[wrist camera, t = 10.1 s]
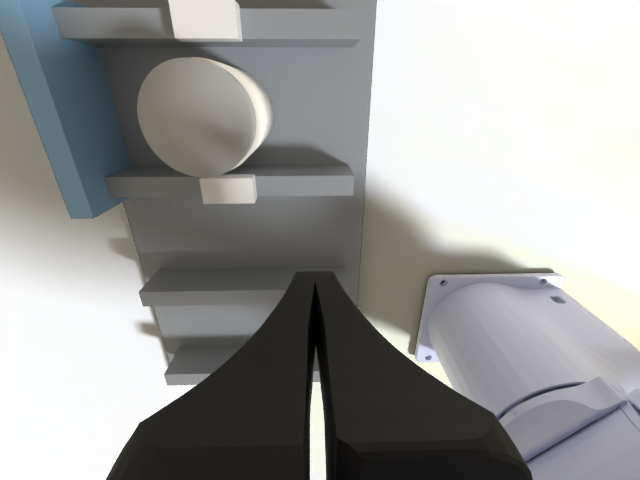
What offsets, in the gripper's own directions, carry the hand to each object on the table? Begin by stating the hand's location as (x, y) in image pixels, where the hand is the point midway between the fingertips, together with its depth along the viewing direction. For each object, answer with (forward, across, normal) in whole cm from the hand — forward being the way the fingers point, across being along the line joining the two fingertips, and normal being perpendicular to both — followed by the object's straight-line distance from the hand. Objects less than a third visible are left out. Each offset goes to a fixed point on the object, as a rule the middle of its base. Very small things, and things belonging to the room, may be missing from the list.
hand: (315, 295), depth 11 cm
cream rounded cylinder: (+8, +4, -6) cm, 11 cm away
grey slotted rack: (+9, +4, +1) cm, 10 cm away
